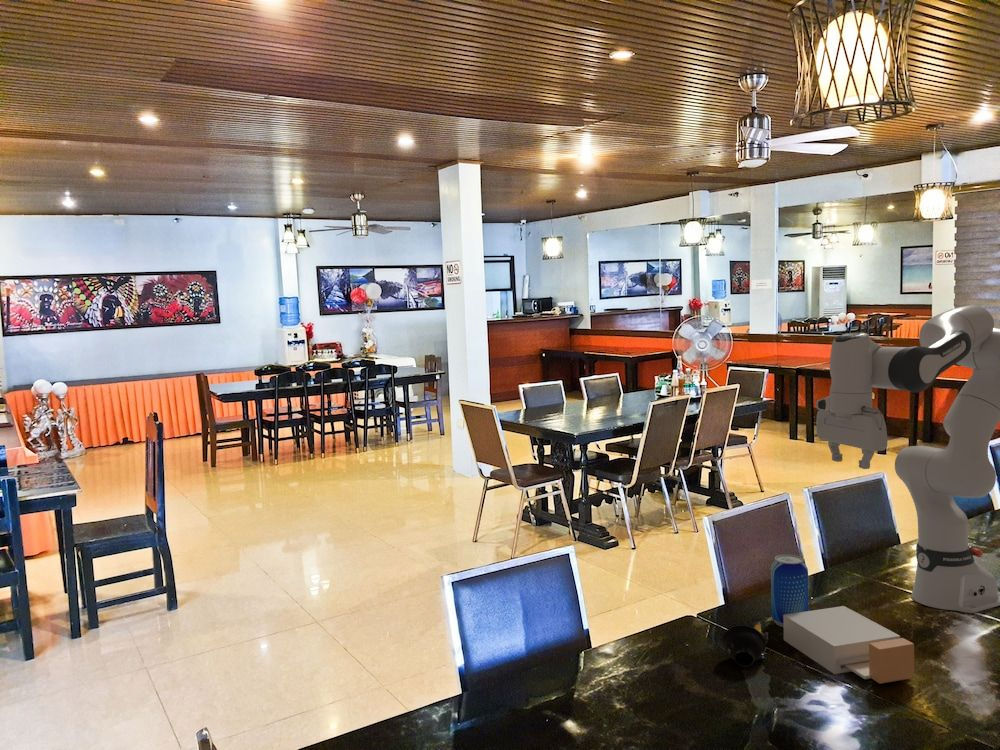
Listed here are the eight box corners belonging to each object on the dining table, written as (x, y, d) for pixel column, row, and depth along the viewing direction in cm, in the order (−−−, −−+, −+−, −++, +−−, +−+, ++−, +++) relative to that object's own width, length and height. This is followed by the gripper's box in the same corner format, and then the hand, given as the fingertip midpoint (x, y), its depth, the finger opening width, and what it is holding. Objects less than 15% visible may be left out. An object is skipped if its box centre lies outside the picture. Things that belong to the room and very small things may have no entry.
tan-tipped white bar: (846, 633, 178) (845, 603, 177) (920, 676, 156) (920, 642, 156) (803, 640, 175) (803, 609, 175) (873, 684, 154) (873, 650, 153)
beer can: (803, 616, 192) (802, 553, 191) (813, 630, 184) (812, 564, 182) (768, 616, 193) (766, 553, 192) (776, 630, 184) (775, 564, 183)
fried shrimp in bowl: (715, 649, 165) (715, 594, 181) (737, 687, 168) (735, 630, 184) (757, 638, 161) (753, 583, 177) (779, 678, 164) (773, 620, 180)
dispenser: (844, 630, 182) (843, 605, 182) (903, 665, 164) (903, 637, 164) (783, 640, 179) (783, 614, 178) (837, 676, 160) (837, 648, 160)
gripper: (895, 408, 167) (894, 472, 168) (834, 399, 187) (834, 456, 188) (869, 410, 166) (869, 474, 166) (811, 401, 185) (811, 458, 186)
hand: (850, 464), depth 177 cm, fingers open, 8 cm apart
